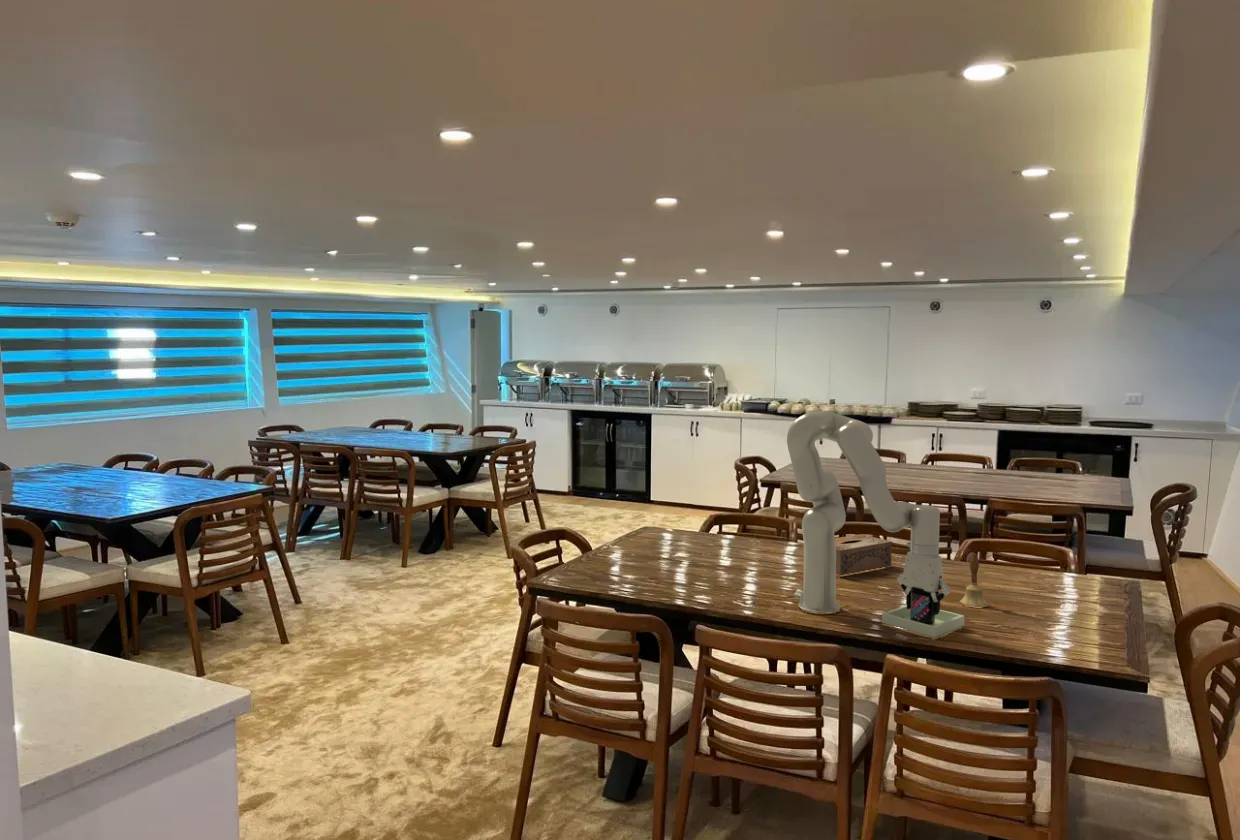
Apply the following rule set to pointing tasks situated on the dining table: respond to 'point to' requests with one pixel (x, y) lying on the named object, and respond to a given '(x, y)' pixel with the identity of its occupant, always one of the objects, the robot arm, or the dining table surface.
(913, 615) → the supplement container
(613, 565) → the dining table surface
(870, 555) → the tissue box cover
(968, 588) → the hand bell
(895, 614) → the tray
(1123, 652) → the dining table surface
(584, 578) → the dining table surface
